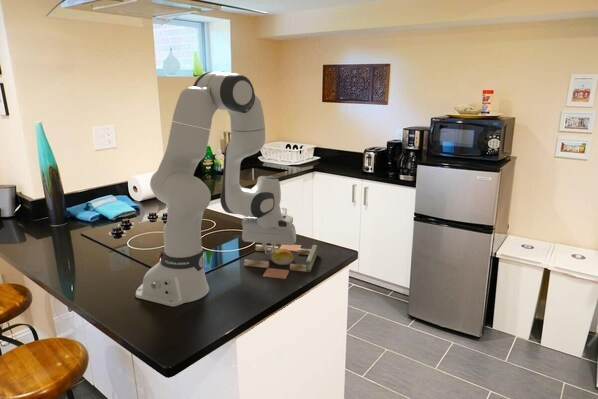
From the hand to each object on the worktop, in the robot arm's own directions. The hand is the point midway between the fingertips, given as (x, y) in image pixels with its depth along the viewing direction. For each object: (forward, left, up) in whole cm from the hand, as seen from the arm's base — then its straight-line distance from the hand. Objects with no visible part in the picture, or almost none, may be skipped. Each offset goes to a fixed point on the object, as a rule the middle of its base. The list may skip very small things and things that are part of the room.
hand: (269, 253), depth 157 cm
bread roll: (+5, -1, -2) cm, 6 cm away
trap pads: (+5, 0, -2) cm, 5 cm away
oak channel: (+5, 0, -2) cm, 5 cm away
